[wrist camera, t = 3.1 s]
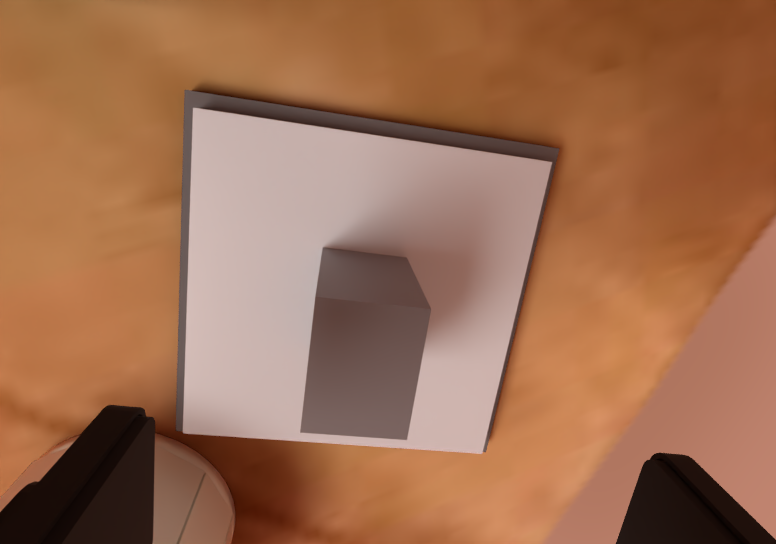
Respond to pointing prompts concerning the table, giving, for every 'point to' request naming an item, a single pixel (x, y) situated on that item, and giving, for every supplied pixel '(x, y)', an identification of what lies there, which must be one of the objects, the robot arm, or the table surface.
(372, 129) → the mat
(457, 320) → the lid
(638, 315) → the table surface
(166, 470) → the bowl
